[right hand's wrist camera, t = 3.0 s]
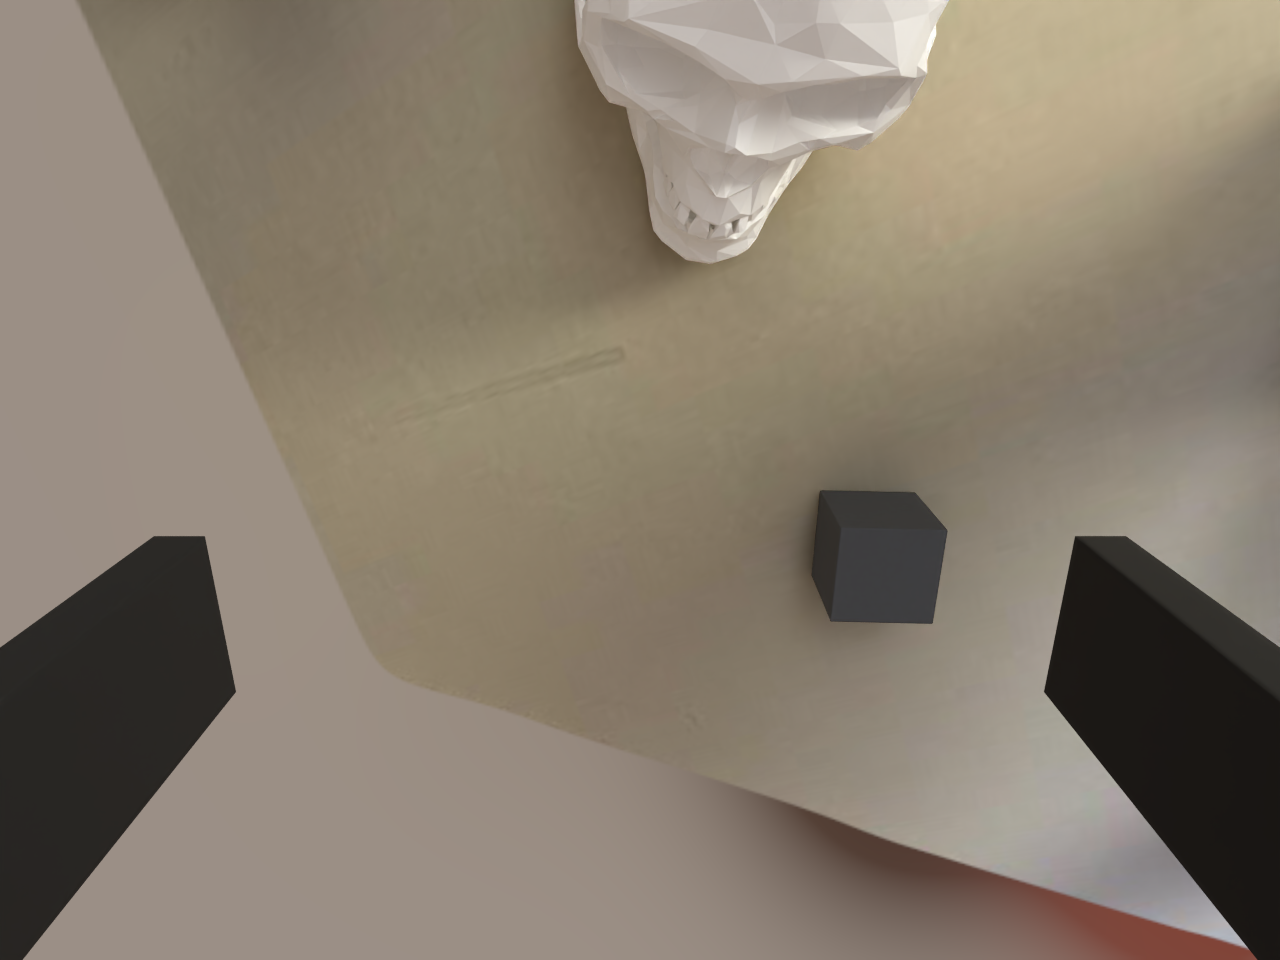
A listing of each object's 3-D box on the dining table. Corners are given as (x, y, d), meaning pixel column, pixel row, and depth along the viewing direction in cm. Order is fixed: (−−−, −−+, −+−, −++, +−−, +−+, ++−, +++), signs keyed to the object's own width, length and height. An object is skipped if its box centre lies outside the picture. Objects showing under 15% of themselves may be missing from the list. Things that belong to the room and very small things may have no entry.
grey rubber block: (820, 489, 43) (840, 527, 38) (915, 492, 43) (948, 530, 38) (811, 575, 44) (830, 621, 40) (903, 577, 44) (932, 624, 40)
